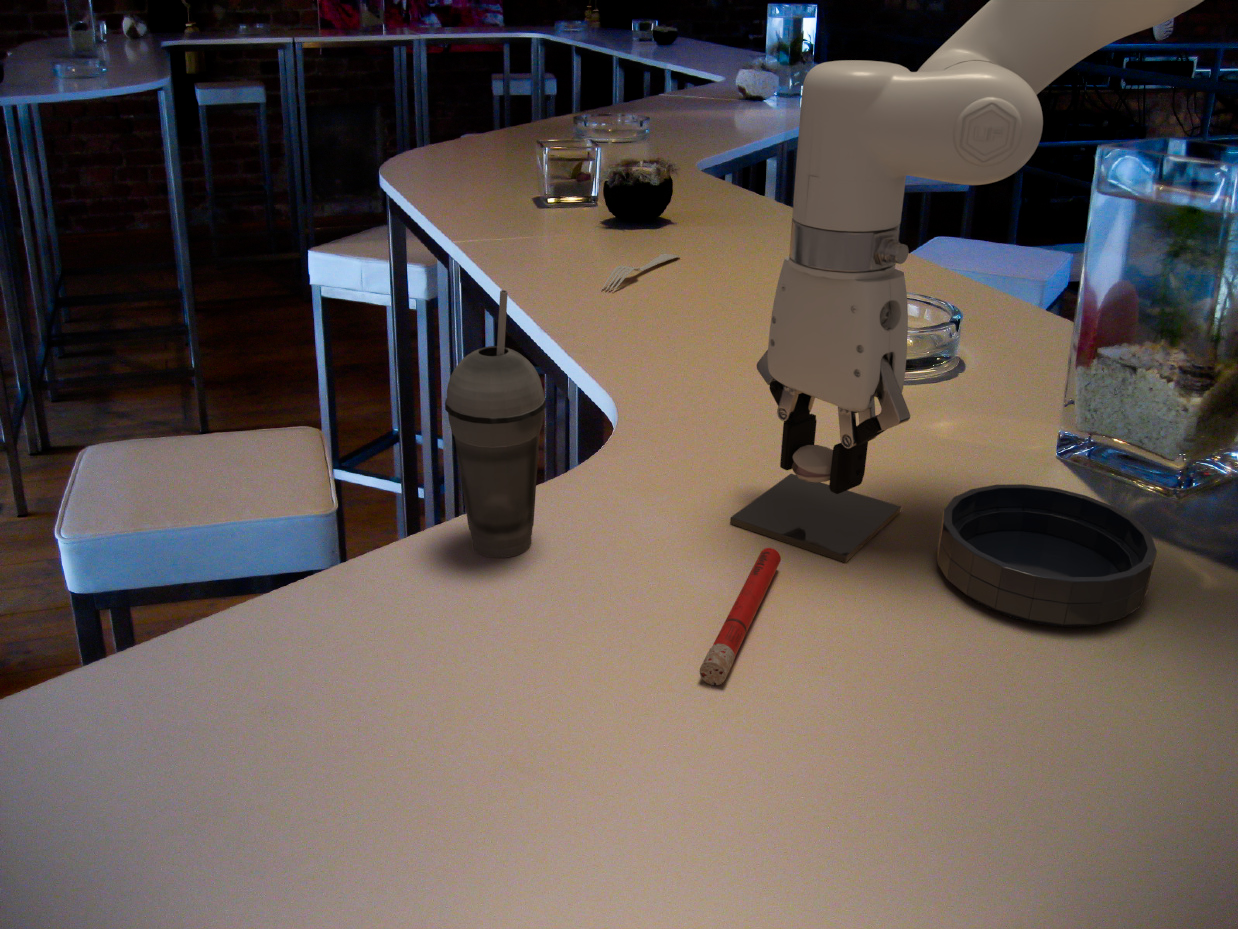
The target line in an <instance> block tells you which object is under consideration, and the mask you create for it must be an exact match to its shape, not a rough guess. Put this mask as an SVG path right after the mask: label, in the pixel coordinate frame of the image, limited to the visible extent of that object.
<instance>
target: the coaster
mask: <svg viewBox="0 0 1238 929" xmlns="http://www.w3.org/2000/svg"><path fill="white" fill-rule="evenodd" d="M900 513H901V505H898V504H895V503H891V502H887V501H884V500H881V499H878V498H874V497H871V496H868V495H864V494H861V493H857V492H854V491H850V490H846V491H844V492H842V493H839V494H835V493H833V492H831V491H830V489H829V484H827V483H825V482H818V483H814V482H806V481H804V480H802V479H800V478H798V477H797V475H796V474H795V473H789V474H788V475H787V476H785V477H783V478H782V479H781V480H780V481H778V482H777V483H775V484H774V485H773V486H772V487H770V488H768V489H767V490H766V491H764V492H763V493H762V494H761V495H759V496H758V497H756V498H755V499H754V500H752V501H751V502H749V503H748V504H746V506H744V507H742V508H741V509H740V510H738V511H737V512H736V513H734V514H733V515H732V516H730V517H729V518H730V519H729V524H730V525H732V526H735V527H738V528H741V529H744V530H748V531H750V532H753V533H757V534H759V535H762V536H765V537H767V538H771V539H774V540H777V541H780V542H783V543H785V544H789V545H791V546H795V547H798V548H801V549H803V550H807V551H810V552H812V553H815V554H818V555H821V556H824V557H826V558H830V559H833V560H836V561H838V562H842V563H845V564H846V563H847V562H849V561H850V560H851V558H852V557H854V556H855V555H856V554H857V553H858V552H859V551H860V550H862V548H863V547H864V546H865V545H867V544H868V543H869V542H870V541H871V540H872V539H873V538H874V537H875V536H876V535H877V534H878V533H880V532H881V531H882V530H883V529H884V528H885V527H886V526H887V525H888V524H889V523H890V522H891V521H892V520H894V519H895V518H896V517H897V516H898V515H899V514H900Z"/></svg>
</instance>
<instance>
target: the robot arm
mask: <svg viewBox="0 0 1238 929" xmlns="http://www.w3.org/2000/svg"><path fill="white" fill-rule="evenodd" d="M1204 1H1205V0H989V1H988V2H986V4H985V5H983V6H982V7H981V8H980V9H979V10H978V11H977V12H976V13H975V14H974V15H973V16H972V17H971V18H969V19H968V20H967V21H966V22H965V23H964V24H963V25H962V26H961V27H960V28H959V29H958V30H956V31H955V33H954V34H952V36H950V37H949V38H948V39H947V40H946V41H945V42H944V43H943V44H942V45H941V46H940V47H939V48H938V49H937V50H936V51H934V52H933V54H931V56H930V57H929V58H927V60H926V61H925V62H924V63H923V64H922V65H921V66H920V67H919V68H918V70H917V71H910V69H909V68H907V67H905V66H903V65H901V64H898V63H893V62H889V61H877V60H860V59H859V60H856V59H855V60H852V59H851V60H850V59H849V60H847V59H845V60H833V61H825V62H821V63H819V64H816V65H814V66H813V67H812V68H811V69H810V70H809V71H808V73H807V74H806V76H805V78H804V80H803V83H802V91H801V100H800V110H799V112H800V113H799V124H798V125H799V126H798V139H797V150H796V151H797V152H796V164H795V178H794V188H793V189H794V190H793V204H792V205H793V206H792V213H791V214H792V215H791V217H792V218H791V227H790V241H789V253H788V255H787V256H785V258H784V260H783V262H782V267H781V269H780V273H779V276H778V280H777V284H776V289H775V294H774V297H773V298H774V299H773V303H772V304H773V305H772V310H771V317H770V323H769V332H768V342H767V344H768V345H767V350H765V352H764V353H763V355H762V356H761V357H760V358H759V360H758V361H757V363H756V370H757V372H758V373H759V375H760V376H761V377H762V379H763V380H764V382H765V383H766V385H767V386H769V391H770V393H771V396H772V398H773V399H774V402H775V403H776V405H777V409H776V410H777V411H776V415H777V417H778V419H779V420H780V421H781V422H783V425H782V437H781V451H780V462H779V466H780V468H781V469H782V470H785V471H790V470H793V469H792V465H793V463H794V460H793V454H794V453H795V452H796V451H797V450H798V449H799V448H800V447H803V446H806V445H815V442H816V434H817V415H816V414H813V413H811V412H812V409H813V406H814V404H815V399H817V400H820V401H823V402H824V403H828V404H831V405H833V406H835V407H837V414H838V427H839V439H840V442H838V443H836V444H834V445H833V448H832V450H833V454H832V464H831V474H830V480H829V484H828V485H829V489H830V491H831V492H833V493H835V494H839V493H842V492H844V491H846V490H848V491H850V490H851V489H854V488H856V487H858V486H860V485H861V484H862V483H863V480H864V476H865V473H866V472H865V471H866V465H867V464H866V463H867V455H868V446H869V442H870V441H873V440H875V439H876V438H877V437H878V436H879V435H880V434H883V433H884V432H885V431H887V430H889V429H891V428H894V427H896V426H900V425H902V424H905V423H907V422H909V421H910V419H911V413H910V410H909V407H908V405H907V403H906V400H905V398H904V396H903V391H904V385H905V379H906V368H907V356H908V355H907V354H908V337H909V336H908V335H909V308H908V293H907V284H906V277H905V272H904V271H902V270H900V269H897V268H896V264H898V265H902V264H904V263H905V262H906V261H907V259H908V257H909V253H910V250H909V247H908V245H907V244H904V243H901V242H900V231H901V223H902V215H903V214H902V212H903V207H904V206H903V205H904V198H905V190H906V180H907V176H909V177H916V178H920V179H921V178H922V179H928V180H932V181H933V180H934V181H940V182H944V183H950V184H956V185H963V186H981V185H982V186H983V185H989V184H992V183H996V182H999V181H1002V180H1004V179H1007V178H1008V177H1010V176H1012V175H1013V174H1016V173H1017V172H1018V171H1019V170H1020V169H1022V168H1023V166H1025V165H1026V164H1027V162H1028V161H1029V160H1030V159H1031V158H1032V157H1033V155H1034V154H1035V152H1036V150H1037V148H1038V146H1039V144H1040V141H1041V138H1042V134H1043V127H1044V116H1043V111H1042V110H1043V109H1042V106H1041V103H1040V100H1039V97H1038V94H1039V93H1040V92H1042V91H1043V90H1044V89H1045V88H1047V87H1048V86H1049V85H1050V84H1052V82H1054V81H1055V80H1056V79H1058V78H1059V77H1060V76H1062V75H1063V74H1064V73H1065V72H1066V71H1068V70H1069V69H1070V68H1072V67H1074V66H1075V65H1076V64H1077V63H1079V62H1081V61H1082V60H1084V59H1085V58H1087V57H1089V56H1090V55H1092V54H1093V53H1094V52H1095V53H1096V52H1097V51H1098V50H1100V49H1102V48H1104V47H1105V46H1108V45H1110V44H1112V43H1113V42H1116V41H1118V40H1120V39H1123V38H1125V37H1128V36H1130V35H1134V34H1136V33H1139V32H1142V31H1145V30H1148V29H1150V28H1151V29H1152V28H1154V27H1155V26H1159V25H1161V24H1163V23H1166V22H1167V21H1170V20H1172V19H1174V18H1176V17H1178V16H1179V15H1181V14H1182V13H1185V12H1187V11H1189V10H1191V9H1192V8H1195V7H1197V6H1198V5H1199V4H1201V3H1202V2H1204ZM875 398H877V400H878V402H879V406H880V409H881V410H880V412H879V413H878V414H877V413H876V404H875ZM856 414H858V423H859V424H857V417H856Z"/></svg>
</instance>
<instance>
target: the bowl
mask: <svg viewBox="0 0 1238 929" xmlns="http://www.w3.org/2000/svg"><path fill="white" fill-rule="evenodd" d="M938 536H939V538H938V543H937V556H936V557H937V558H936V559H937V565H938V567H939V568H940V570H941V572H942V573H943V575H944V577H945V578H946V580H947V581H948V582H950V583H951V584H952V585H953V586H955V588H957V589H958V590H959V591H960V592H962V593H963V594H964V595H965V596H967V597H968V598H969V599H971V600H973V601H974V602H976V603H978V604H979V605H980V606H983V607H985V608H986V609H989V610H991V609H992V610H991V611H993V612H996V613H998V614H1001V613H1002V615H1004V614H1005V615H1004V616H1007V617H1009V616H1011V617H1010V618H1012V619H1016V618H1017V619H1016V620H1019V619H1020V621H1024V622H1027V623H1028V622H1029V623H1033V624H1037V623H1040V624H1039V625H1044V626H1052V627H1064V628H1065V627H1067V628H1068V627H1069V628H1071V627H1072V628H1075V627H1076V628H1077V627H1090V626H1097V625H1101V624H1106V623H1109V622H1112V621H1116V620H1120V619H1124V618H1125V617H1127V616H1128V615H1130V614H1132V613H1133V612H1135V611H1136V610H1138V609H1139V608H1140V607H1142V604H1143V602H1144V600H1145V598H1146V595H1147V592H1148V588H1149V585H1150V581H1151V578H1152V572H1153V568H1154V566H1155V562H1156V558H1157V553H1158V548H1157V547H1156V544H1155V540H1154V538H1153V535H1152V534H1151V532H1150V531H1148V530H1147V529H1146V528H1145V527H1144V526H1143V525H1142V524H1141V523H1140V522H1139V521H1138V520H1137V519H1136V518H1134V517H1133V516H1131V515H1130V514H1128V513H1125V512H1124V511H1122V510H1121V509H1119V508H1117V507H1116V506H1113V505H1111V504H1109V503H1106V502H1103V501H1101V500H1098V499H1095V498H1094V497H1091V496H1089V495H1085V494H1081V493H1077V492H1073V491H1070V490H1066V489H1062V488H1057V487H1050V486H1043V485H1034V484H1033V485H1032V484H1025V483H1023V484H1022V483H1021V484H1020V483H1016V484H1015V483H1014V484H1013V483H1011V484H993V485H987V486H982V487H981V486H980V487H975V488H971V489H969V490H967V491H964V492H961V493H960V494H958V495H955V496H953V497H952V499H951V500H950V501H949V502H948V504H947V505H946V506H945V507H944V508H943V511H942V516H941V524H940V530H939V535H938Z"/></svg>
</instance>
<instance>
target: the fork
mask: <svg viewBox="0 0 1238 929" xmlns="http://www.w3.org/2000/svg"><path fill="white" fill-rule="evenodd" d="M679 258H681V256H680V255H677V254H676V255H675V254H671V253H662V254H659V255H658V256H656V257H655V258H654V259H652V260H650V261H649V262H648V263H647V264H645V265H643V266H640V267H635V266H628V265H617V266H615V268H614V269H613V270H612V271H611V273H610V274H609V275H608V277H607V279H606V280H605V282H604V284H603V286H602V288H601V290H602V289H603V290H604V288H605V287H606V288H605V290H607V291H610V292H611V290H612V292H613V291H614V292H615V291H616V290H617V289H618V288H619V286H620V285H621V284H622V282H624V280H625V279H626V278H627V277H628V276H629V275H630V274H631V273H632V272H633V271H635V272H643V271H645V270H648V269H650V268H653V267H655V266H657V265H659V264H662V263H665V262H668V261H671V260H675V259H679ZM607 284H608V285H607Z"/></svg>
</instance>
